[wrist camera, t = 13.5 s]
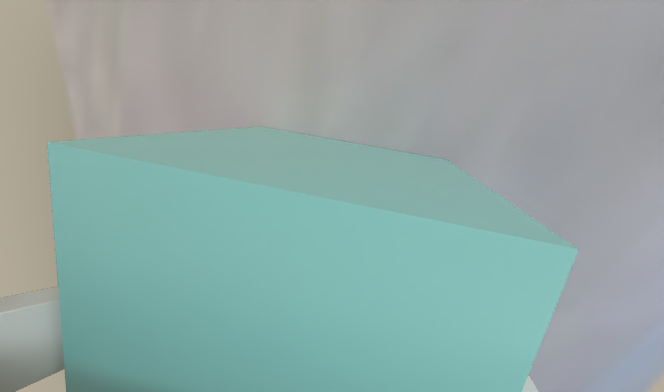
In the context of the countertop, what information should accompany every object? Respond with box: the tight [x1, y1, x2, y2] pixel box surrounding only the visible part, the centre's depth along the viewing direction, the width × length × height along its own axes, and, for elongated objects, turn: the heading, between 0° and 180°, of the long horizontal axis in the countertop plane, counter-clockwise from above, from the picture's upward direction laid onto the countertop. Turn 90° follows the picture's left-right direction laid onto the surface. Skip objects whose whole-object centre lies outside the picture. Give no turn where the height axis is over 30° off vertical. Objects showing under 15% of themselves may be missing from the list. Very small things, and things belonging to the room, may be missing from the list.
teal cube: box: [47, 127, 579, 392], centre depth 10 cm, size 8×8×9 cm
